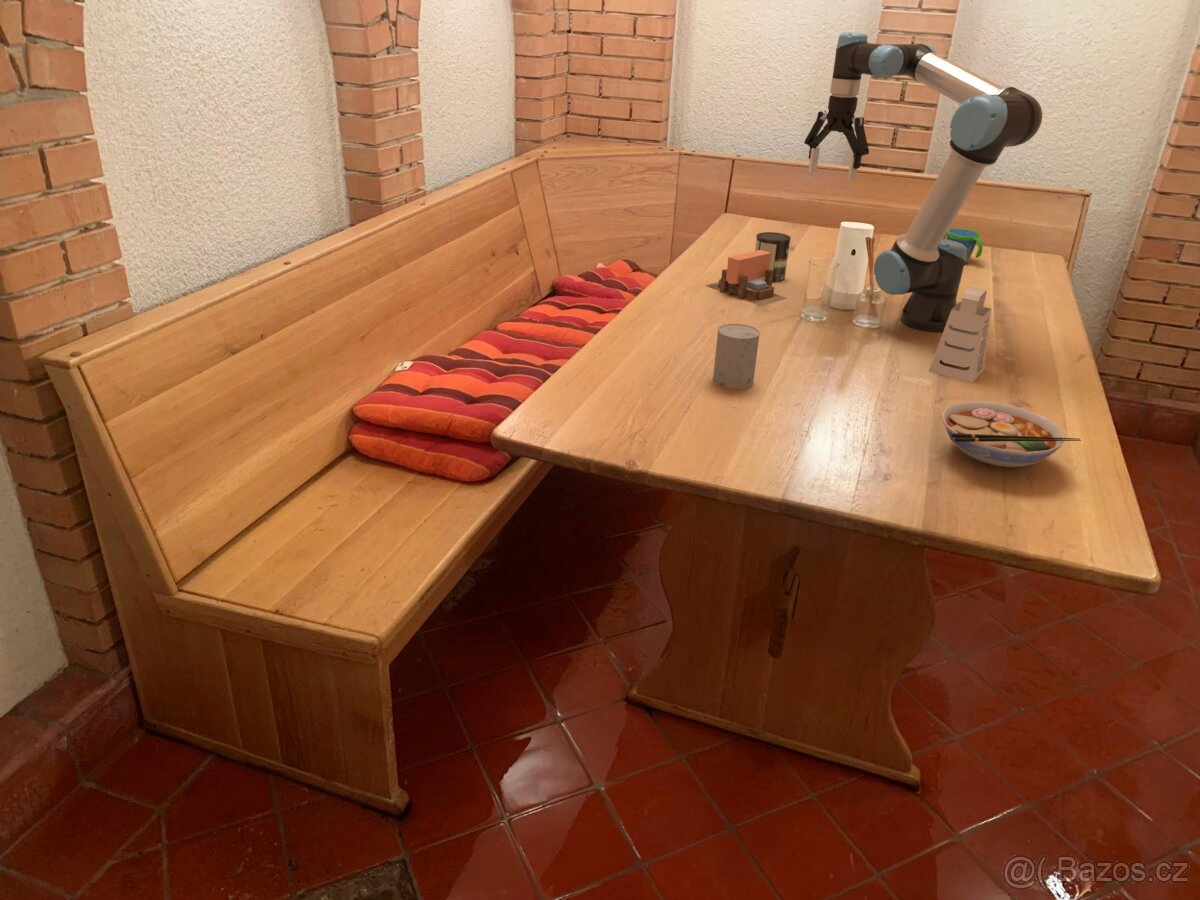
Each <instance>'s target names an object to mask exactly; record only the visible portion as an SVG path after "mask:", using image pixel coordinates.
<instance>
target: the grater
mask: <svg viewBox="0 0 1200 900" xmlns="http://www.w3.org/2000/svg"><path fill="white" fill-rule="evenodd" d="M986 297H987V290H986V289H985V290H984V289H981V288H976V287H972V286H971V287H969V288H968V289H967V290H965V292H964V293H963V295H962V299H961V301H959V302H958V303H957V305H956V306H955V307H954V308H953V309H951V312H950V315H949V318H948V320H947V323H946V326H945V329H944V331H943V332H942V334H941V337H940V339H939V343H938V346H937V348H936V350H935V353H934V357H933V360H932V362H931V365H930V367H929V369H928V372H930V373H934V374H937V375H942V376H946V377H950V378H954V379H959V380H961V381H966V382H970V383H974V382H975V381H976V379H978V377H979V376H980V375H981V374H982V373H983V371H984V369H985V364H986V355H987V348H988V347H987V346H988V340H989V339H988V338H989V329H990V322H991V321H990V320H991V312H992V308H991V307H987V306H984V305H985V301H986ZM941 361H942V362H943V363H944V364H949V365H953V366H956V367H961V368H964V369H965V368H968V369H965V370H964V369H960V368H955V367H950V366H947V365H943V364H942V363H940V362H941Z"/></svg>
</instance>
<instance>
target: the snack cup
mask: <svg viewBox="0 0 1200 900" xmlns="http://www.w3.org/2000/svg"><path fill="white" fill-rule="evenodd" d="M980 236H981V235H980V233H979V232H977V231H975V230H971V229H966V228H949V229H948V231H947V232H946V234H945V236H944V238H943V239H947V240H951V241H955V242H958V243H961V244H963V245H964V246H965V247H966V249H967V253H966V261H965V263H964V265H966V264H968V263H969V262H970V259H971V257H972V255H973V253H974V250H975V247H976V245H977V247H978V248H977V251H976V254H975V256H974V257H975V258H976V259H977V258H980V257H981V255H982V253H983V241H982V239H981V238H980Z"/></svg>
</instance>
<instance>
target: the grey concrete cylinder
mask: <svg viewBox="0 0 1200 900" xmlns="http://www.w3.org/2000/svg"><path fill="white" fill-rule="evenodd" d="M760 334H761V331H760V330H759V329H758V328H756V327H754V326H751V325H748V324H743V323H727V324H723V325H721V326H719V327H718V328H717V337H716V346H715V354H714V355H715V357H714V365H713V366H714V367H713V373H712V375H713V376H712V381H713V383H714V384H715V385H718V387H722V388H725V389H730V390H744V389H749V388H750V387H752V386H754V384H755V383H754V379H755V371H756V365H757V357H758V351H759V350H758V348H759V342H760V336H761V335H760Z"/></svg>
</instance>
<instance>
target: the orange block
mask: <svg viewBox="0 0 1200 900" xmlns="http://www.w3.org/2000/svg"><path fill="white" fill-rule="evenodd" d="M770 258H771V253H769V252H766V251H763V250H758V251H755V250H754V251H749V252H746V253H740V254H736V255H735V254H734V255H731V256H728V257H727V266H726V269H727V275H726V281H728V282H731V283H734V284H739V283H740V276H743V275H745V276H748V279H747V281H751V280H755V279H759V278H763V277H766V270H768V269H769V266H770Z"/></svg>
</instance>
